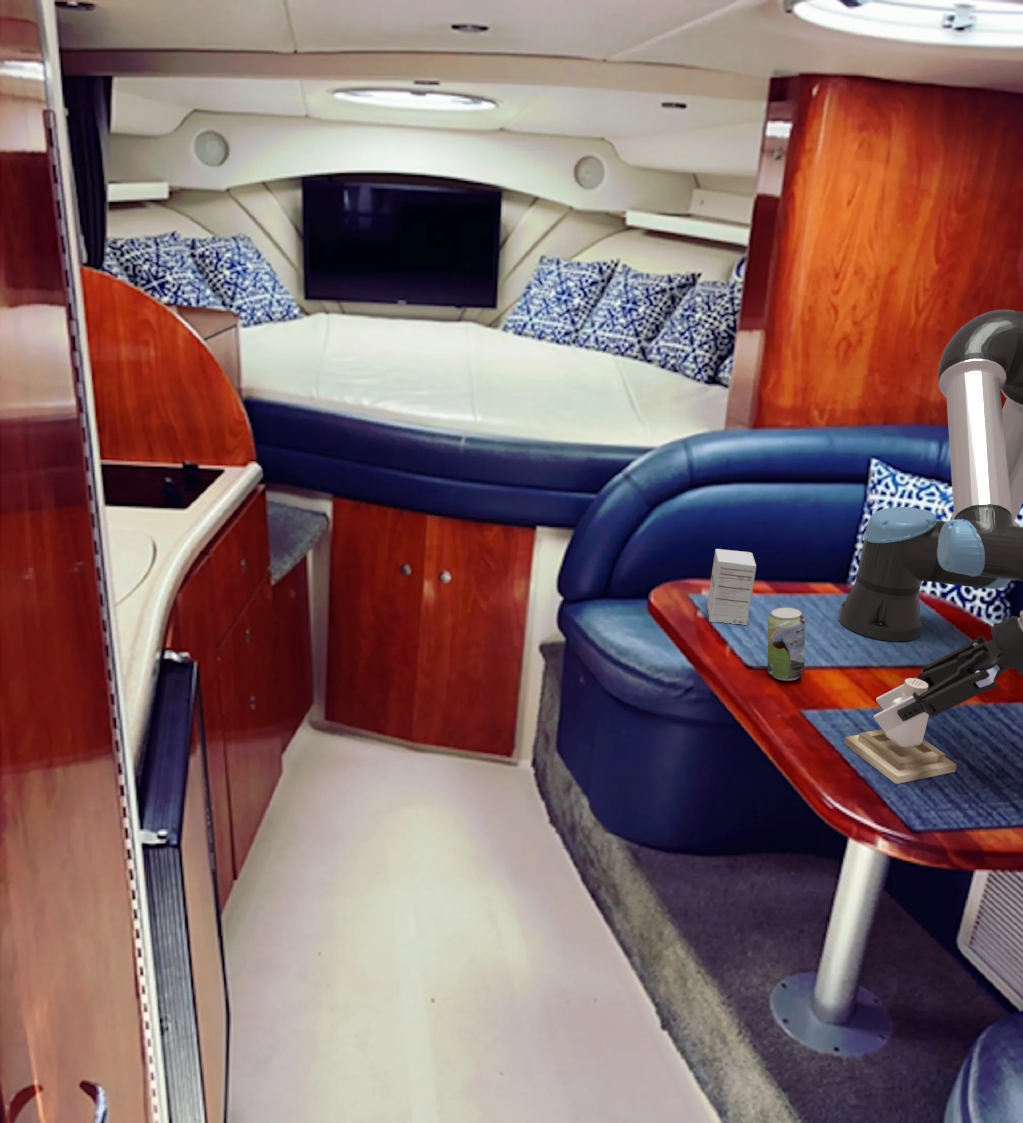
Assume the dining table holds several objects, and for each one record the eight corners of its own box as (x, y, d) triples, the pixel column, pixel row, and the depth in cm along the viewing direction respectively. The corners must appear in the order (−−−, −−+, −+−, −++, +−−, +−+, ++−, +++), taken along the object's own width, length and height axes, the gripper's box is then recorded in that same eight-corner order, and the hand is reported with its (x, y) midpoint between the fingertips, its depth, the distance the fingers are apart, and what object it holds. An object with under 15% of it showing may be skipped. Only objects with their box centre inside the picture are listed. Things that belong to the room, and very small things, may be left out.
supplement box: (705, 607, 192) (714, 547, 187) (743, 611, 191) (753, 551, 186) (707, 622, 185) (717, 560, 180) (747, 626, 184) (757, 565, 179)
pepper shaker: (902, 749, 139) (916, 691, 136) (882, 736, 142) (895, 678, 139) (923, 745, 140) (937, 687, 137) (902, 731, 144) (916, 674, 141)
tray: (900, 733, 149) (903, 720, 148) (955, 771, 140) (958, 757, 139) (843, 743, 145) (846, 730, 144) (896, 784, 136) (899, 769, 135)
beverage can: (804, 687, 162) (816, 622, 158) (759, 680, 163) (770, 615, 159) (801, 670, 168) (813, 607, 163) (758, 664, 169) (769, 601, 165)
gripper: (1056, 688, 122) (893, 765, 134) (1043, 635, 138) (898, 708, 149) (1020, 640, 122) (860, 721, 134) (1012, 593, 138) (869, 669, 149)
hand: (880, 714), depth 141 cm, fingers closed on pepper shaker, 5 cm apart
